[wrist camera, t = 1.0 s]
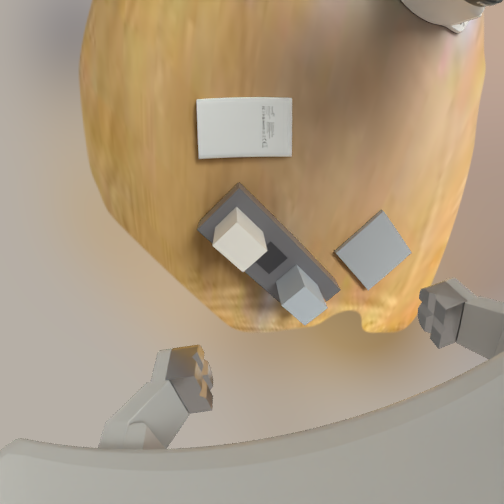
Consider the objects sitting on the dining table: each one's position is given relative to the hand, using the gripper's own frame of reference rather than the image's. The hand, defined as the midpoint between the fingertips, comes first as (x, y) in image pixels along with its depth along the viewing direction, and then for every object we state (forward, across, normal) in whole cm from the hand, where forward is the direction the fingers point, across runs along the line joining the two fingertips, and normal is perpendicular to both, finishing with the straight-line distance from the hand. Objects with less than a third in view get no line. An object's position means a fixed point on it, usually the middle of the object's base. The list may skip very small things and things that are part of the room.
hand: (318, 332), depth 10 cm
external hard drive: (+35, -1, -6) cm, 35 cm away
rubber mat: (+34, -17, +16) cm, 42 cm away
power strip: (+35, 0, +12) cm, 37 cm away
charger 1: (+33, +3, +6) cm, 34 cm away
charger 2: (+31, -3, +17) cm, 35 cm away
